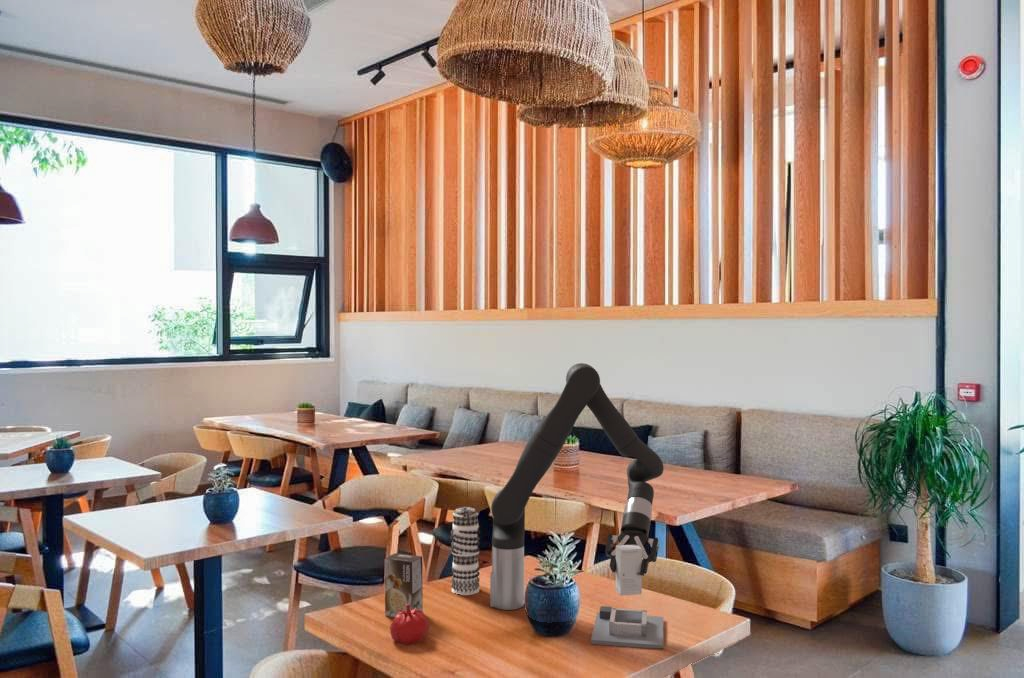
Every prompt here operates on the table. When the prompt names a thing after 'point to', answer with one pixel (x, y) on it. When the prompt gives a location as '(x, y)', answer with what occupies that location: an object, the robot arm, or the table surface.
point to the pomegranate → (409, 626)
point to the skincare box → (628, 570)
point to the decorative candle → (465, 551)
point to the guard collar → (628, 628)
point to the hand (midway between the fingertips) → (627, 572)
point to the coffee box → (403, 583)
